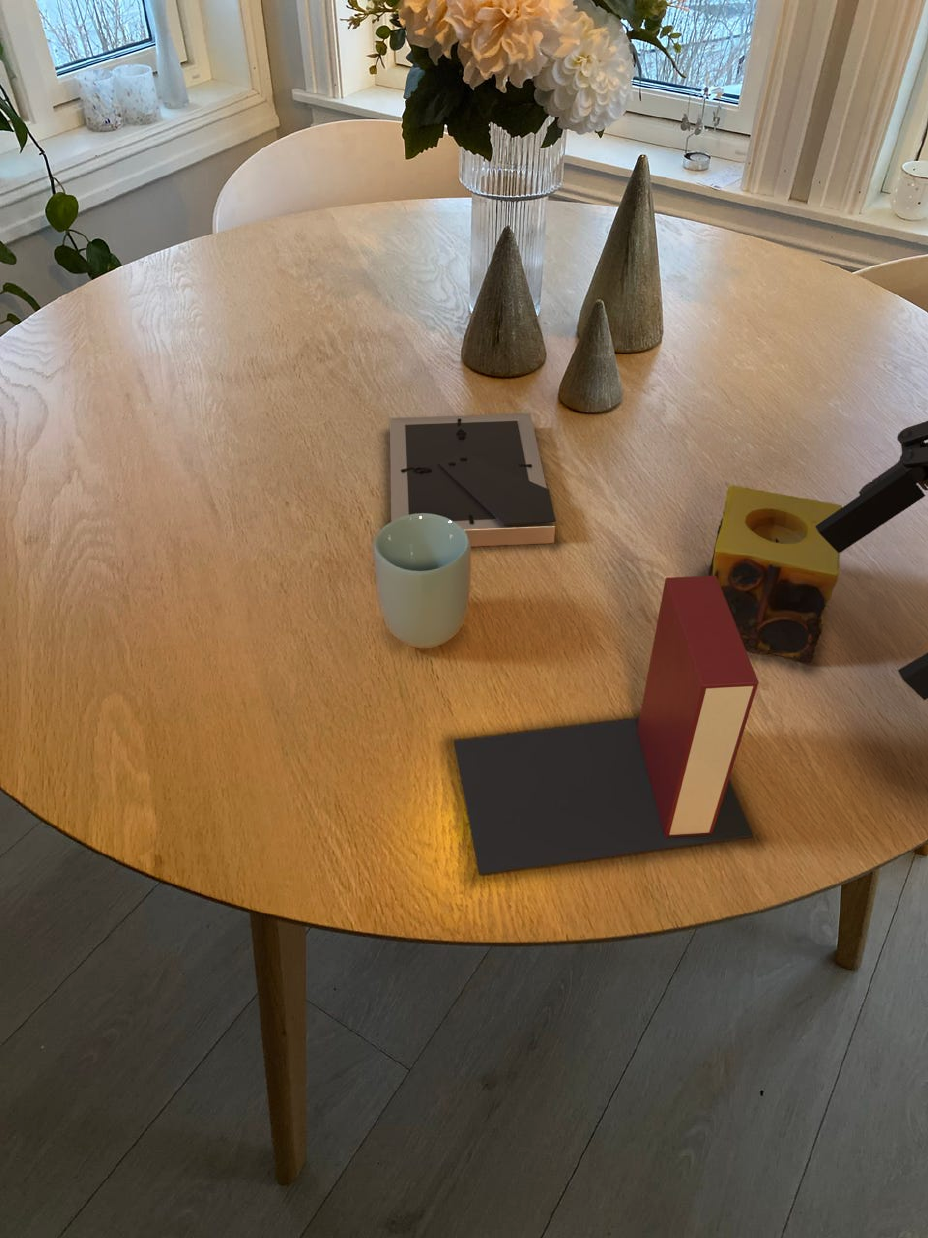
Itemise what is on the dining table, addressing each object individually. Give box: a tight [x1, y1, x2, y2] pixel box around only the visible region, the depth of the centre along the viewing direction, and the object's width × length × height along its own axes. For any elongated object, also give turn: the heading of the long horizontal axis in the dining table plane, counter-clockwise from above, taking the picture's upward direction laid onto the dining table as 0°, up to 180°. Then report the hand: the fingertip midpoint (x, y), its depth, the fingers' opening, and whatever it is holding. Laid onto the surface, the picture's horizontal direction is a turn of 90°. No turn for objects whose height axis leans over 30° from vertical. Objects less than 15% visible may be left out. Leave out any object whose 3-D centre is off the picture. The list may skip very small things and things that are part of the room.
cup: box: [372, 513, 472, 649], centre depth 81 cm, size 8×8×10 cm
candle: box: [707, 484, 843, 665], centre depth 83 cm, size 10×10×10 cm
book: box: [637, 575, 759, 837], centre depth 67 cm, size 10×4×16 cm, turn 4°
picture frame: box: [389, 412, 557, 548], centre depth 100 cm, size 16×3×21 cm
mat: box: [453, 717, 754, 876], centre depth 72 cm, size 20×12×1 cm, turn 99°
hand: (864, 607), depth 60 cm, fingers open, 13 cm apart
